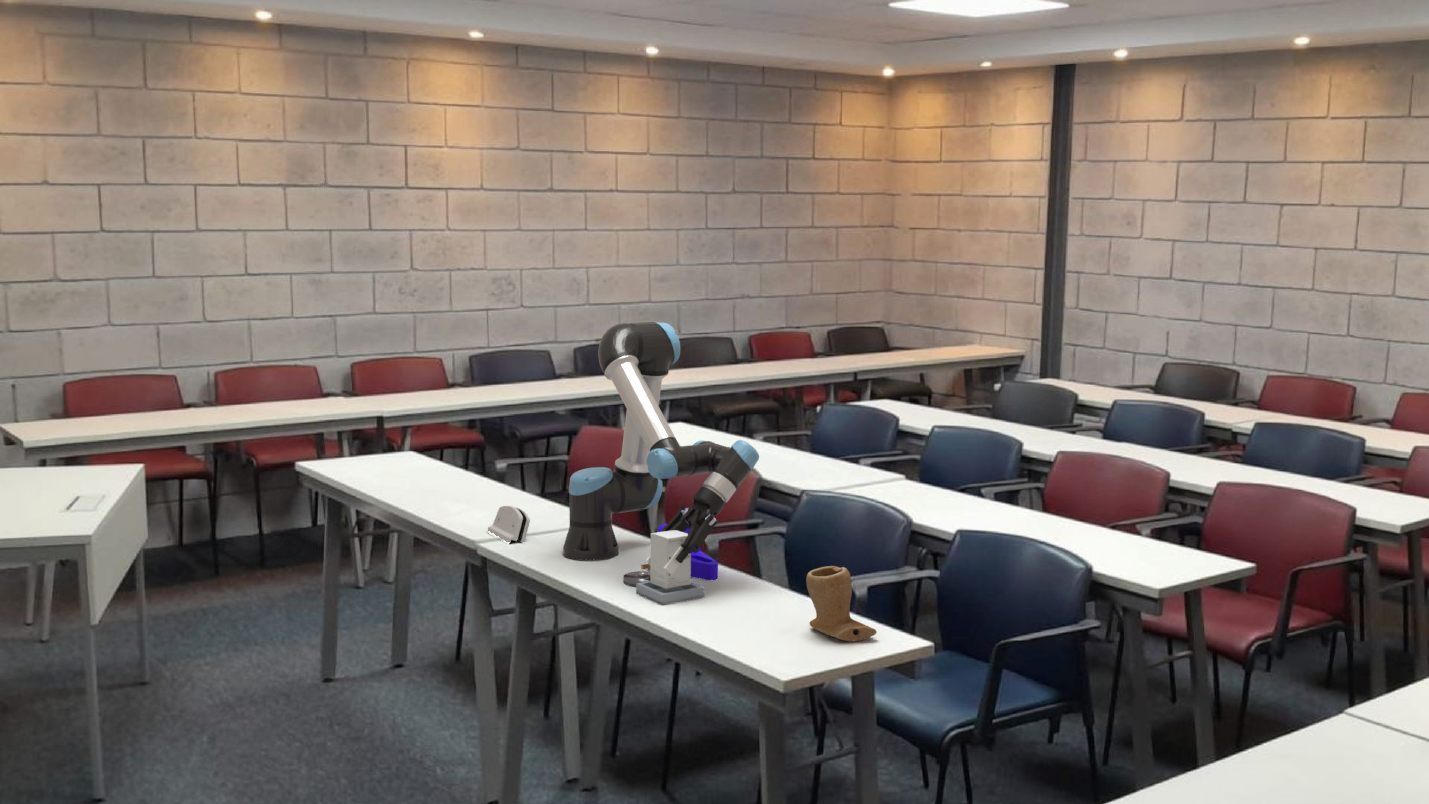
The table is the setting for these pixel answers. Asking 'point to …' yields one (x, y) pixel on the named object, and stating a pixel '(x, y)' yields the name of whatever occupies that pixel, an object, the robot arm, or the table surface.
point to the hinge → (510, 524)
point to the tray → (669, 593)
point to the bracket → (701, 563)
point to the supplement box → (662, 553)
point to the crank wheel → (637, 576)
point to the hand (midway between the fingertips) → (658, 567)
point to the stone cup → (834, 604)
